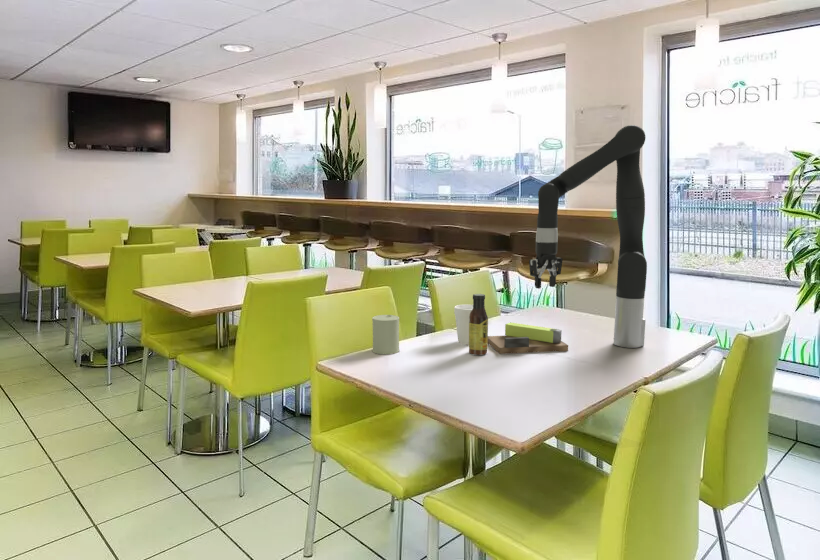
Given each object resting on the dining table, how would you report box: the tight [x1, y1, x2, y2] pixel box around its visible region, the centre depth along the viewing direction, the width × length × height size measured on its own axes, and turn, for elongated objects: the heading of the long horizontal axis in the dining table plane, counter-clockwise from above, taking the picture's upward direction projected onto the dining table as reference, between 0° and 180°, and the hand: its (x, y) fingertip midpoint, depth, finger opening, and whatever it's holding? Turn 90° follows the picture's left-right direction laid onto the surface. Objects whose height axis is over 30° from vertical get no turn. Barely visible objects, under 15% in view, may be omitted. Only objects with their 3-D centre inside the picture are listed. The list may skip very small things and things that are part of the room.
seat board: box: [488, 335, 569, 355], centre depth 199 cm, size 24×16×5 cm, turn 99°
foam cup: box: [453, 304, 473, 346], centre depth 203 cm, size 10×9×13 cm
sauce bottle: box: [468, 293, 489, 356], centre depth 189 cm, size 7×6×20 cm
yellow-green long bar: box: [504, 321, 562, 343], centre depth 201 cm, size 20×4×4 cm, turn 54°
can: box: [371, 314, 400, 355], centre depth 193 cm, size 9×9×12 cm
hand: (545, 287), depth 204 cm, fingers open, 6 cm apart
